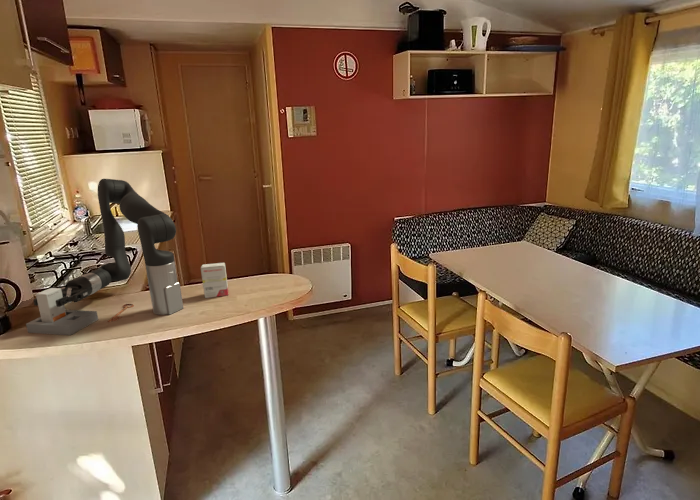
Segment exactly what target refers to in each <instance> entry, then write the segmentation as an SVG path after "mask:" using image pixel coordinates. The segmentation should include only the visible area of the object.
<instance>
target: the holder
mask: <svg viewBox="0 0 700 500" xmlns="http://www.w3.org/2000/svg"><path fill="white" fill-rule="evenodd" d="M65 310H66V315H67V316H65V317H63V318H61V319H59V320H57V321H55V322H53V323H47V322H42V320H41V316H39V317H37V318H35V319H33V320H30V321H29V322H26V323H25V326H26V330H27V333H28V334H29V333H32V334H43V335H44V334H45V335H46V334H48V335H58V336H59V335H61V336H62V335H64V336H72V335H74V334H76V332H79V331H80V330H83V329H84V328H86V327H88V326H89V325H92V324H93V323H95V322H96V321H98V320H99V317H98V311H96V310H84V309H83V310H81V309H80V310H79V309H65Z"/></svg>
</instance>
